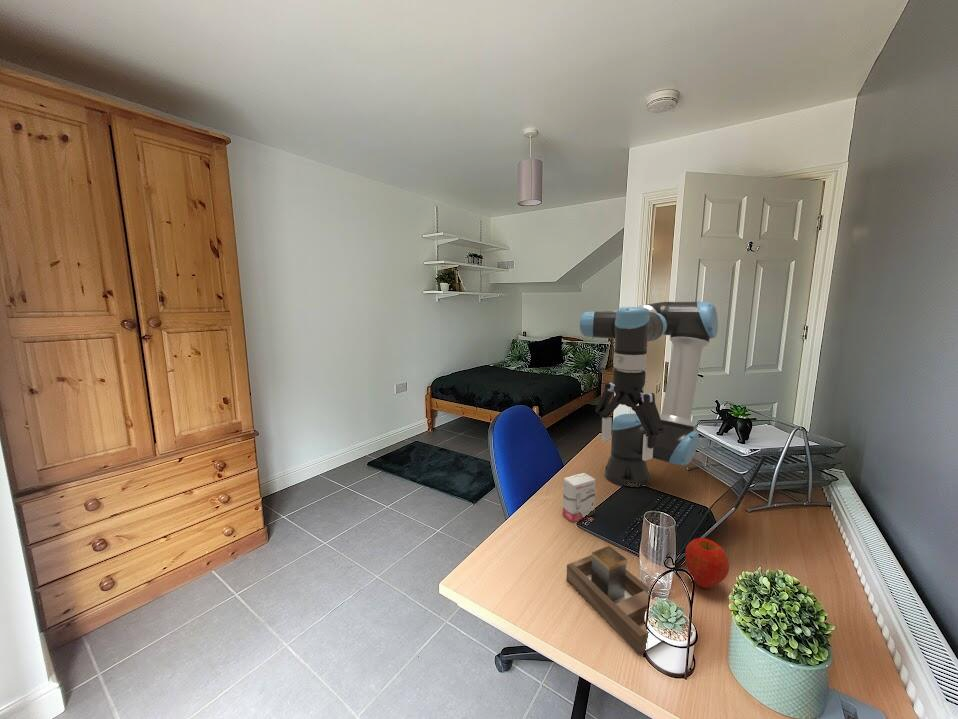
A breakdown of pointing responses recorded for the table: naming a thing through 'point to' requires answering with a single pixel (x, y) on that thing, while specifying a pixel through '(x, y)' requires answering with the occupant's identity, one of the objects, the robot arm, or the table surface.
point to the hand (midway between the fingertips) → (625, 449)
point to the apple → (706, 562)
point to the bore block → (615, 603)
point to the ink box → (578, 496)
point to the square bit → (609, 572)
